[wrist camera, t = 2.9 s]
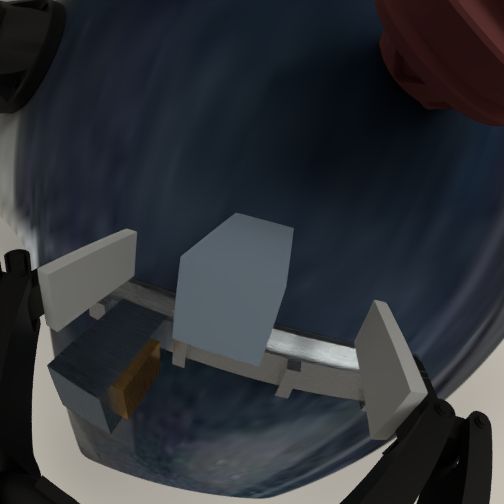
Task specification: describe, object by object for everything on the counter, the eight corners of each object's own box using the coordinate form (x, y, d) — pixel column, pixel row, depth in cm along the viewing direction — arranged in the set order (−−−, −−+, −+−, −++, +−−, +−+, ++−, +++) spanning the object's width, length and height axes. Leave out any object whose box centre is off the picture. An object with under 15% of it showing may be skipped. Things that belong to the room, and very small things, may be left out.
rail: (98, 308, 24) (21, 374, 13) (95, 263, 22) (1, 323, 11) (392, 393, 21) (413, 493, 10) (418, 354, 19) (459, 459, 9)
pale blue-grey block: (235, 212, 18) (180, 256, 10) (293, 228, 18) (286, 286, 10) (223, 273, 20) (171, 348, 12) (276, 288, 20) (256, 375, 11)
